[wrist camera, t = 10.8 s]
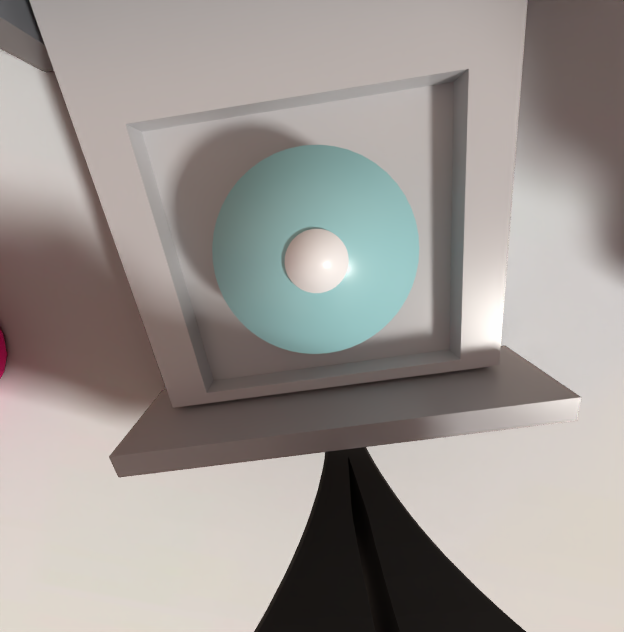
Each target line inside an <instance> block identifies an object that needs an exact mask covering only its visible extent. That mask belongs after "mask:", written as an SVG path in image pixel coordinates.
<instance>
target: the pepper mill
mask: <svg viewBox="0 0 624 632" xmlns="http://www.w3.org/2000/svg"><path fill="white" fill-rule="evenodd" d="M6 358H7V351H6V346H5V340H4V335H3V333H2V331H1V329H0V378H1V377H2V375H3V373H4V370H5V364H6Z"/></svg>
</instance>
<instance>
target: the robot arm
mask: <svg viewBox="0 0 624 632" xmlns="http://www.w3.org/2000/svg"><path fill="white" fill-rule="evenodd" d="M254 632H526V631H525V630H523V629H522V628H521V627H520V626H519V625H518V624H516V623H515V622H514V621H513V620H512V619H511V618H510V617H508V616H507V615H506V614H505V613H504V612H503V611H502V610H501V609H499V608H498V607H497V606H496V605H495V604H494V603H493V602H492V601H491V600H490V599H489V598H488V597H487V596H485V595H484V594H483V593H482V592H481V591H480V590H479V589H478V588H477V587H476V586H475V585H474V584H473V583H472V582H471V581H470V580H469V579H468V578H467V577H466V576H465V575H464V574H463V573H462V572H461V571H460V570H459V569H458V568H457V567H456V566H455V565H454V564H453V563H452V562H451V561H450V560H449V559H448V558H447V557H446V556H445V555H444V554H443V552H442V551H441V550H440V549H439V548H438V547H437V546H436V545H435V544H434V542H433V541H432V540H431V539H430V538H429V537H428V536H427V534H426V533H425V532H424V531H423V530H422V529H421V527H420V526H419V525H418V524H417V522H416V521H415V520H414V519H413V518H412V516H411V515H410V514H409V512H408V511H407V510H406V508H405V507H404V506H403V504H402V503H401V502H400V500H399V499H398V498H397V496H396V495H395V493H394V492H393V491H392V489H391V488H390V486H389V485H388V483H387V482H386V480H385V479H384V477H383V476H382V474H381V473H380V471H379V469H378V468H377V466H376V464H375V463H374V461H373V459H372V458H371V456H370V454H369V452H368V450H367V448H366V447H360V448H352V449H344V450H336V451H328V452H325V459H324V465H323V471H322V475H321V479H320V483H319V488H318V491H317V495H316V498H315V501H314V504H313V507H312V510H311V513H310V516H309V519H308V522H307V525H306V527H305V530H304V532H303V535H302V537H301V540H300V542H299V545H298V547H297V549H296V552H295V554H294V556H293V558H292V561H291V563H290V565H289V567H288V569H287V571H286V573H285V576H284V578H283V579H282V581H281V583H280V585H279V587H278V589H277V591H276V593H275V595H274V597H273V599H272V601H271V603H270V605H269V607H268V608H267V610H266V612H265V614H264V616H263V617H262V619H261V621H260V623H259V624H258V626H257V628H256V629H255V631H254Z"/></svg>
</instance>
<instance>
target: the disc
mask: <svg viewBox="0 0 624 632" xmlns="http://www.w3.org/2000/svg"><path fill="white" fill-rule="evenodd" d="M212 257H213V266H214V272H215V276H216V280H217V283H218V286H219V289H220V291H221V293H222V295H223V298H224V300H225V301H226V303H227V305H228V306H229V308H230V309H231V311H232V312H233V313H234V315H235V316H236V317H237V318H238V320H239V321H240V322H241V323H242V324H243V325H244V326H245V327H246V328H247V329H249V330H250V331H251V332H252V333H254V334H255V335H256V336H258V337H259V338H261V339H263V340H265V341H266V342H268V343H270V344H272V345H275V346H277V347H279V348H282V349H286V350H289V351H293V352H299V353H307V354H322V353H331V352H337V351H341V350H344V349H347V348H351V347H353V346H355V345H358V344H360V343H362V342H364V341H365V340H367V339H369V338H371V337H372V336H374V335H375V334H376V333H378V332H379V331H380V330H382V329H383V328H384V327H385V326H386V325H387V324H388V323H389V322H390V321H391V320H392V319H393V318H394V316H395V315H396V314H397V313H398V311H399V310H400V309H401V307H402V305H403V304H404V302H405V301H406V299H407V297H408V295H409V293H410V290H411V288H412V286H413V283H414V280H415V277H416V272H417V267H418V262H419V235H418V230H417V225H416V220H415V217H414V214H413V211H412V208H411V206H410V204H409V202H408V200H407V198H406V196H405V195H404V193H403V192H402V190H401V189H400V187H399V186H398V184H397V183H396V182H395V181H394V180H393V179H392V178H391V176H390V175H389V174H388V173H387V172H386V171H384V170H383V169H382V168H381V167H379V166H378V165H377V164H376V163H374V162H373V161H371V160H369V159H368V158H366V157H364V156H363V155H360V154H358V153H355V152H353V151H350V150H348V149H344V148H340V147H336V146H328V145H303V146H298V147H293V148H289V149H286V150H283V151H280V152H278V153H275V154H273V155H271V156H269V157H267V158H265V159H264V160H262V161H260V162H259V163H257V164H256V165H255V166H253V167H252V168H251V169H249V170H248V171H247V172H246V173H245V174H244V175H243V176H242V177H241V178H240V179H239V180H238V181H237V183H236V184H235V185H234V187H233V188H232V189H231V191H230V192H229V194H228V195H227V197H226V199H225V201H224V203H223V205H222V207H221V209H220V212H219V215H218V217H217V220H216V224H215V229H214V233H213V243H212Z"/></svg>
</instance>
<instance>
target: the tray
mask: <svg viewBox="0 0 624 632" xmlns="http://www.w3.org/2000/svg"><path fill="white" fill-rule="evenodd" d="M29 1H30V4H31V7H32V10H33V12H34V15H35V18H36V21H37V24H38V27H39V29H40V32H41V35H42V38H43V41H44V44H45V46H46V49H47V52H48V55H49V58H50V61H51V63H52V66H53V69H54V72H55V75H56V78H57V80H58V83H59V86H60V89H61V92H62V95H63V97H64V100H65V103H66V106H67V109H68V112H69V115H70V117H71V120H72V123H73V126H74V129H75V132H76V134H77V137H78V140H79V143H80V146H81V149H82V151H83V154H84V157H85V160H86V163H87V166H88V168H89V171H90V174H91V177H92V180H93V183H94V185H95V188H96V191H97V194H98V197H99V200H100V202H101V205H102V208H103V211H104V214H105V217H106V219H107V222H108V225H109V228H110V231H111V234H112V236H113V239H114V242H115V245H116V248H117V251H118V254H119V256H120V259H121V262H122V265H123V268H124V271H125V273H126V276H127V279H128V282H129V285H130V288H131V290H132V293H133V296H134V299H135V302H136V305H137V307H138V310H139V313H140V316H141V319H142V322H143V324H144V327H145V330H146V333H147V336H148V339H149V341H150V344H151V347H152V350H153V353H154V356H155V358H156V361H157V364H158V367H159V370H160V373H161V376H162V378H163V381H164V384H165V387H166V390H165V391H161V393H160V394H159V395H158V396H157V398H156V399H155V400H154V401H153V403H152V404H151V405H150V406H149V408H148V409H147V410H146V411H145V413H144V414H143V415H142V416H141V418H140V419H139V420H138V421H137V423H136V424H135V425H134V426H133V428H132V429H131V430H130V431H129V432H128V434H127V435H126V436H125V437H124V439H123V440H122V441H121V442H120V444H119V445H118V446H117V447H116V449H115V450H114V451H113V452H112V454H111V455H110V456H109V458H110V460H111V462H112V464H113V467H114V469H115V471H116V473H117V475H118V477H126V476H134V475H142V474H150V473H158V472H166V471H175V470H183V469H191V468H199V467H207V466H215V465H223V464H231V463H239V462H247V461H255V460H263V459H272V458H280V457H288V456H296V455H304V454H312V453H320V452H328V451H336V450H344V449H352V448H360V447H369V446H377V445H385V444H393V443H401V442H409V441H417V440H425V439H433V438H441V437H449V436H457V435H466V434H474V433H482V432H490V431H498V430H506V429H514V428H522V427H530V426H538V425H546V424H554V423H563V422H571V421H577V417H578V412H579V407H580V401H581V397H580V396H579V395H577V394H576V393H574V392H573V391H571V390H570V389H568V388H567V387H565V386H564V385H562V384H561V383H559V382H558V381H557V380H555V379H554V378H552V377H551V376H549V375H548V374H546V373H545V372H543V371H542V370H540V369H539V368H537V367H536V366H534V365H533V364H531V363H530V362H529V361H527V360H526V359H524V358H523V357H521V356H520V355H518V354H517V353H515V352H514V351H512V350H511V349H509V348H508V347H506V346H501V335H502V322H503V310H504V297H505V284H506V271H507V258H508V246H509V233H510V220H511V207H512V194H513V182H514V169H515V156H516V143H517V130H518V117H519V105H520V92H521V79H522V66H523V53H524V41H525V28H526V15H527V2H528V0H29ZM303 145H328V146H336V147H340V148H344V149H348V150H350V151H353V152H355V153H358V154H360V155H363V156H364V157H366V158H368V159H369V160H371V161H373V162H374V163H376V164H377V165H378V166H379V167H381V168H382V169H383V170H384V171H386V172H387V173H388V174H389V175H390V176H391V178H392V179H393V180H394V181H395V182H396V183H397V184H398V186H399V187H400V189H401V190H402V192H403V193H404V195H405V196H406V198H407V200H408V202H409V204H410V206H411V208H412V211H413V214H414V217H415V220H416V225H417V230H418V235H419V262H418V267H417V272H416V277H415V280H414V283H413V286H412V288H411V290H410V293H409V295H408V297H407V299H406V301H405V302H404V304H403V305H402V307H401V309H400V310H399V311H398V313H397V314H396V315H395V316H394V318H393V319H392V320H391V321H390V322H389V323H388V324H387V325H386V326H385V327H384V328H383V329H382V330H380V331H379V332H378V333H376V334H375V335H374V336H372V337H371V338H369V339H367V340H365V341H364V342H362V343H360V344H358V345H355V346H353V347H351V348H347V349H344V350H341V351H337V352H331V353H322V354H307V353H299V352H293V351H289V350H286V349H282V348H279V347H277V346H275V345H272V344H270V343H268V342H266V341H265V340H263V339H261V338H259V337H258V336H256V335H255V334H254V333H252V332H251V331H250V330H249V329H247V328H246V327H245V326H244V325H243V324H242V323H241V322H240V321H239V320H238V318H237V317H236V316H235V315H234V313H233V312H232V311H231V309H230V308H229V306H228V305H227V303H226V301H225V300H224V298H223V295H222V293H221V291H220V289H219V286H218V283H217V280H216V276H215V272H214V266H213V257H212V243H213V233H214V229H215V224H216V220H217V217H218V215H219V212H220V209H221V207H222V205H223V203H224V201H225V199H226V197H227V195H228V194H229V192H230V191H231V189H232V188H233V187H234V185H235V184H236V183H237V181H238V180H239V179H240V178H241V177H242V176H243V175H244V174H245V173H246V172H247V171H248V170H249V169H251V168H252V167H253V166H255V165H256V164H257V163H259V162H260V161H262V160H264V159H265V158H267V157H269V156H271V155H273V154H275V153H278V152H280V151H283V150H286V149H289V148H293V147H298V146H303Z"/></svg>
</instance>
